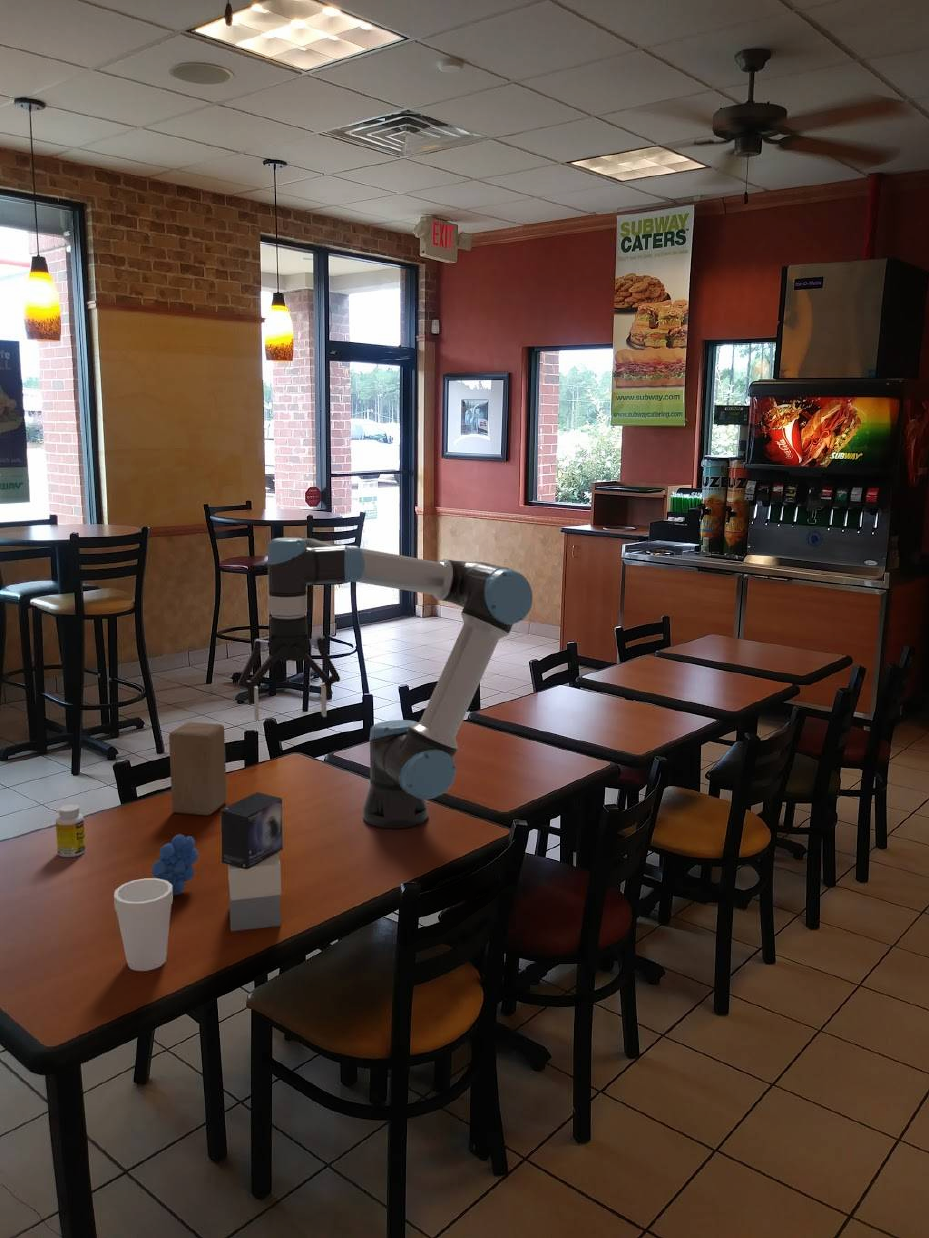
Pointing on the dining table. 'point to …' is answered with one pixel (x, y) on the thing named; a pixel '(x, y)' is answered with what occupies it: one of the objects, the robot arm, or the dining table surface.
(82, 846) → the supplement bottle
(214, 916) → the dining table surface
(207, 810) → the block
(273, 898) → the tower base
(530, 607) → the robot arm
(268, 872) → the tower top
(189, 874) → the grapes
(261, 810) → the small box
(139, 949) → the foam cup
